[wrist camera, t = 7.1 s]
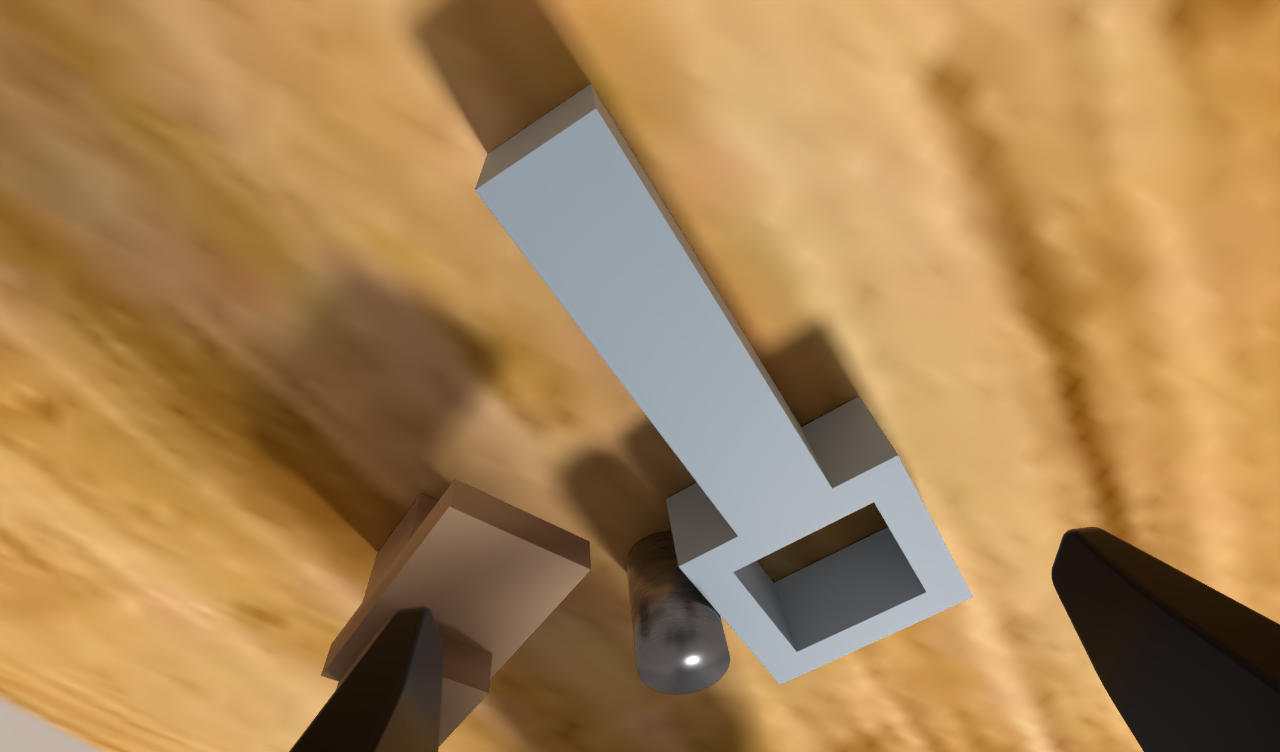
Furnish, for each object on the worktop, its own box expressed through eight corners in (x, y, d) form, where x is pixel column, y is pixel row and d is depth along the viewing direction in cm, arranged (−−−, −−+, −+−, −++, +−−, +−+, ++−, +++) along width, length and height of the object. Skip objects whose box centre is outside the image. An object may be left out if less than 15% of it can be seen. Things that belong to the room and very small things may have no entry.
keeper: (585, 454, 22) (592, 607, 17) (471, 591, 25) (448, 758, 20) (471, 395, 21) (441, 543, 16) (363, 547, 23) (307, 716, 18)
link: (931, 531, 25) (973, 596, 23) (758, 614, 27) (779, 684, 24) (663, 33, 16) (683, 49, 14) (422, 198, 18) (398, 241, 15)
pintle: (706, 585, 26) (729, 688, 22) (629, 594, 26) (640, 699, 22) (705, 527, 24) (730, 628, 21) (623, 536, 24) (634, 639, 21)
